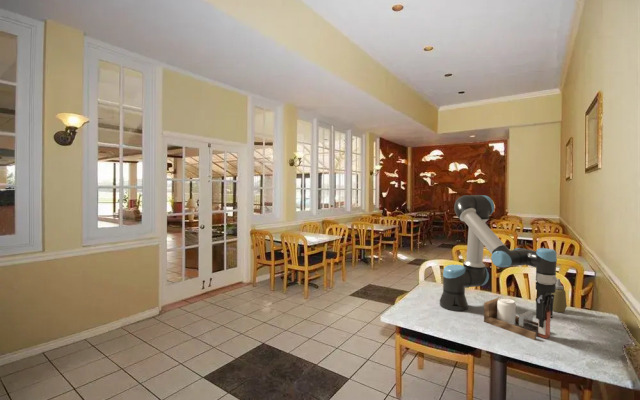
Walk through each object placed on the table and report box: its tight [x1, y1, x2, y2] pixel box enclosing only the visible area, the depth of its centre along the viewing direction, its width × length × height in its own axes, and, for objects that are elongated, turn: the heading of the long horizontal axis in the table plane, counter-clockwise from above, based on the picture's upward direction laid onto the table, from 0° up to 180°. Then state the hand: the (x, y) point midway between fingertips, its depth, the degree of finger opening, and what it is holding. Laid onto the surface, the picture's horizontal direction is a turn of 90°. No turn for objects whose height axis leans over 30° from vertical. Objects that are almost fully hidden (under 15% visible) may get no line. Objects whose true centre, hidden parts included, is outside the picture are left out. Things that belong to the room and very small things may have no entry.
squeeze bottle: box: [551, 278, 568, 313], centre depth 179 cm, size 8×8×18 cm
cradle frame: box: [483, 297, 538, 341], centre depth 158 cm, size 24×14×10 cm, turn 33°
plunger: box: [518, 310, 551, 339], centre depth 150 cm, size 10×10×12 cm
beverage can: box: [497, 297, 517, 326], centre depth 162 cm, size 8×8×12 cm
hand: (543, 332), depth 148 cm, fingers closed on plunger, 3 cm apart
